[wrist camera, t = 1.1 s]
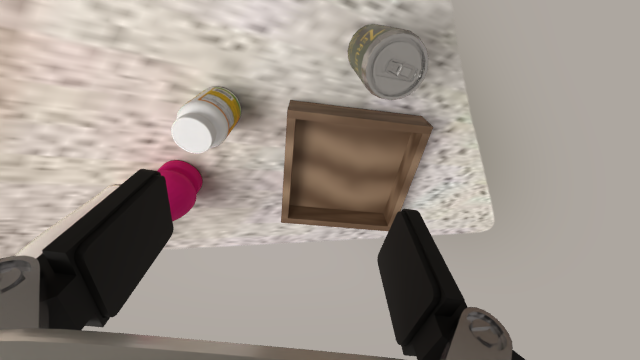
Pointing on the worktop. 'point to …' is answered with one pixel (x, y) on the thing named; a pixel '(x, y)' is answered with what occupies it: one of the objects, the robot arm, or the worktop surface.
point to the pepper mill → (181, 186)
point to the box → (349, 165)
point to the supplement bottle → (206, 120)
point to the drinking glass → (62, 225)
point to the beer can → (388, 60)
